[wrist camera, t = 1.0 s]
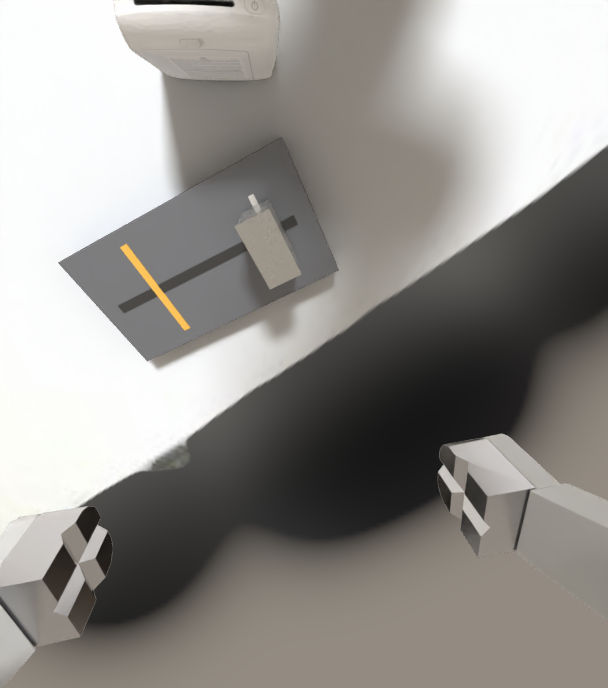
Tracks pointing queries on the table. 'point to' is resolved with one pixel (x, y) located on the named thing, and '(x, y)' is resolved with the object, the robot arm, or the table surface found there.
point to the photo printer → (203, 36)
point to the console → (200, 256)
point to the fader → (268, 244)
